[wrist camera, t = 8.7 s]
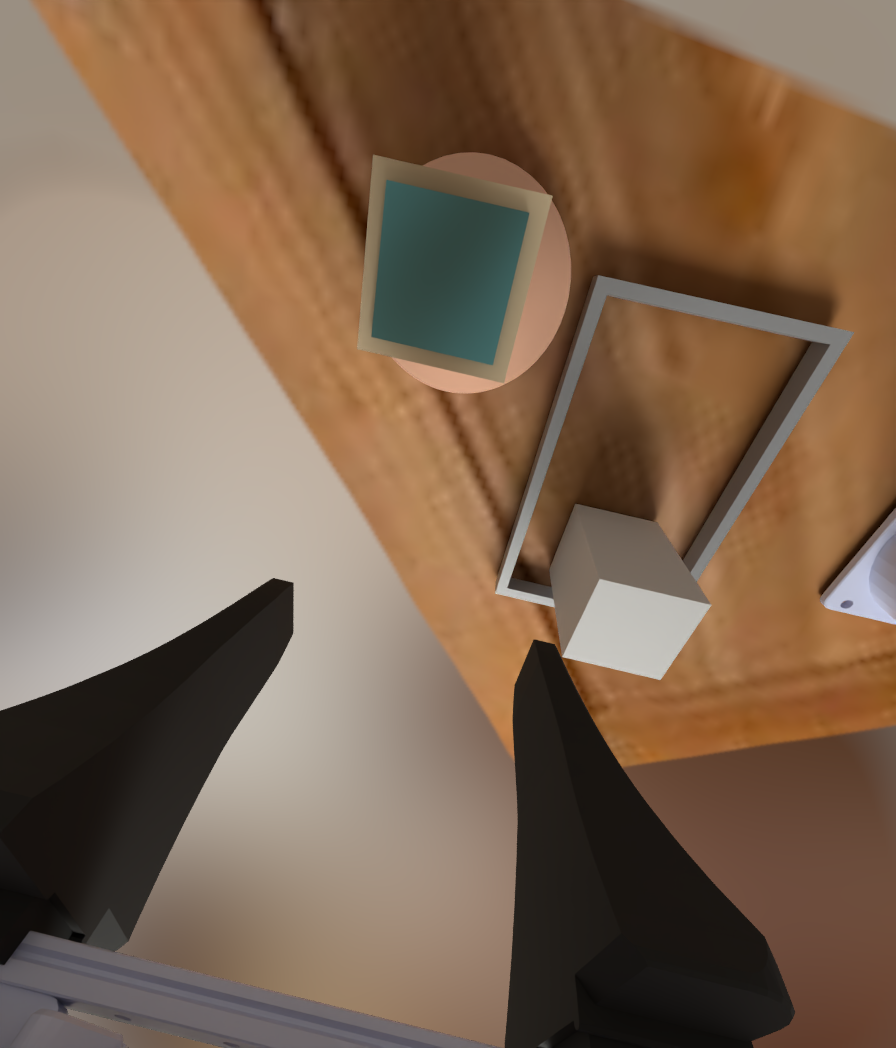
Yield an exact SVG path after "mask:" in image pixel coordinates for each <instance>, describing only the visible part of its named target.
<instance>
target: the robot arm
mask: <svg viewBox="0 0 896 1048" xmlns="http://www.w3.org/2000/svg"><path fill="white" fill-rule="evenodd" d="M844 601H845V602H844ZM820 602H821V603H822V604H823V605H824V606H825V607H826V608H828V609H831V610H835V611H840V612H844V613H848V614H853V615H857V616H861V617H865V618H870V619H874V620H878V621H883V622H887V623H891V624H896V508H895V509H894V510H893V511H892V513H891V514H890V515H889V516H888V517H887V519H886V520H885V521H884V522H883V523H882V524H881V526H880V527H879V528H878V529H877V530H876V532H875V533H874V534H873V535H872V536H871V537H870V539H869V540H868V541H867V542H866V543H865V545H864V546H863V547H862V548H861V549H860V550H859V552H858V553H857V554H856V555H855V556H854V558H853V559H852V560H851V561H850V562H849V564H848V565H847V566H846V567H845V568H844V569H843V571H842V572H841V573H840V574H839V575H838V577H837V578H836V579H835V580H834V581H833V582H832V584H831V585H830V586H829V587H828V588H827V590H826V591H825V592H824V593H823V594H822V596H821V597H820ZM842 602H843V603H842ZM292 635H293V583H292V582H288V581H283V580H279V579H275V578H273V579H271V580H269V581H268V582H266V583H265V584H263V585H261V586H260V587H258V588H257V589H255V590H254V591H252V592H251V593H249V594H248V595H246V596H244V597H243V598H241V599H240V600H238V601H237V602H235V603H234V604H232V605H231V606H229V607H227V608H226V609H224V610H222V611H221V612H219V613H218V614H216V615H214V616H213V617H211V618H209V619H208V620H206V621H204V622H203V623H201V624H199V625H198V626H196V627H194V628H192V629H191V630H189V631H187V632H186V633H183V634H182V635H180V636H178V637H176V638H175V639H173V640H171V641H169V642H167V643H165V644H163V645H161V646H160V647H158V648H156V649H154V650H152V651H150V652H148V653H146V654H143V655H142V656H139V657H137V658H135V659H133V660H131V661H129V662H127V663H124V664H122V665H120V666H118V667H115V668H113V669H110V670H108V671H106V672H103V673H101V674H98V675H96V676H94V677H91V678H89V679H86V680H84V681H82V682H79V683H77V684H74V685H72V686H69V687H67V688H64V689H61V690H59V691H56V692H53V693H50V694H48V695H45V696H42V697H39V698H37V699H34V700H31V701H28V702H25V703H22V704H19V705H16V706H13V707H10V708H7V709H5V710H1V711H0V1048H128V1047H127V1046H126V1045H125V1044H124V1043H123V1035H122V1034H119V1033H117V1032H114V1031H111V1030H108V1029H106V1028H103V1027H100V1026H97V1025H95V1024H92V1023H89V1022H86V1021H84V1020H81V1019H78V1018H75V1017H73V1016H70V1015H68V1011H67V1009H66V1008H68V1009H71V1010H75V1011H79V1012H84V1013H87V1014H91V1015H96V1016H99V1017H103V1018H107V1019H111V1020H115V1021H119V1022H123V1023H127V1024H131V1025H135V1026H139V1027H143V1028H147V1029H151V1030H155V1031H160V1032H164V1033H168V1034H172V1035H175V1036H179V1037H183V1038H187V1039H191V1040H195V1041H200V1042H203V1043H207V1044H212V1045H215V1046H219V1047H223V1048H500V1047H496V1046H492V1045H488V1044H485V1043H480V1042H477V1041H472V1040H468V1039H464V1038H460V1037H456V1036H452V1035H448V1034H444V1033H440V1032H436V1031H432V1030H428V1029H424V1028H420V1027H416V1026H412V1025H408V1024H404V1023H400V1022H396V1021H392V1020H388V1019H384V1018H380V1017H376V1016H372V1015H368V1014H364V1013H360V1012H356V1011H352V1010H348V1009H344V1008H339V1007H335V1006H331V1005H327V1004H324V1003H320V1002H316V1001H311V1000H307V999H303V998H299V997H295V996H291V995H287V994H283V993H279V992H275V991H271V990H267V989H263V988H259V987H255V986H251V985H247V984H243V983H239V982H235V981H231V980H227V979H223V978H219V977H215V976H211V975H207V974H202V973H198V972H194V971H190V970H186V969H183V968H178V967H175V966H171V965H166V964H162V963H159V962H155V961H150V960H146V959H142V958H138V957H134V956H130V955H126V954H122V953H118V952H115V951H116V950H118V949H119V948H120V947H122V946H123V945H124V944H125V943H127V942H128V941H129V939H130V936H131V934H132V932H133V930H134V927H135V925H136V923H137V921H138V918H139V916H140V914H141V912H142V910H143V908H144V905H145V903H146V901H147V899H148V897H149V895H150V893H151V890H152V888H153V886H154V884H155V882H156V880H157V878H158V875H159V873H160V871H161V869H162V867H163V865H164V863H165V861H166V859H167V857H168V855H169V852H170V850H171V849H172V847H173V844H174V842H175V840H176V838H177V836H178V834H179V832H180V830H181V828H182V826H183V824H184V822H185V820H186V818H187V816H188V814H189V812H190V810H191V808H192V807H193V805H194V803H195V801H196V799H197V797H198V794H199V793H200V791H201V789H202V787H203V785H204V783H205V781H206V779H207V778H208V776H209V774H210V772H211V770H212V768H213V767H214V764H215V763H216V761H217V759H218V757H219V755H220V753H221V752H222V750H223V748H224V746H225V745H226V743H227V741H228V740H229V738H230V736H231V735H232V733H233V732H234V730H235V729H236V727H237V726H238V724H239V723H240V721H241V720H242V718H243V717H244V715H245V714H246V712H247V711H248V709H249V707H250V706H251V704H252V703H253V701H254V700H255V698H256V697H257V695H258V694H259V692H260V691H261V689H262V688H263V686H264V685H265V683H266V682H267V680H268V679H269V677H270V676H271V674H272V672H273V671H274V669H275V668H276V666H277V664H278V663H279V661H280V659H281V657H282V655H283V653H284V651H285V649H286V647H287V645H288V643H289V641H290V639H291V637H292ZM513 737H514V755H515V771H516V787H517V808H518V831H517V864H516V887H515V908H514V925H513V943H512V959H511V972H510V986H509V987H510V988H509V1000H508V1013H507V1025H506V1036H505V1048H753V1045H752V1042H751V1041H753V1040H755V1039H758V1038H760V1037H763V1036H765V1035H768V1034H771V1033H773V1032H776V1031H778V1030H780V1029H782V1028H784V1027H785V1026H787V1025H789V1024H790V1022H791V1020H792V1019H793V1016H794V1014H795V1011H794V1008H793V1005H792V1002H791V1000H790V997H789V994H788V992H787V989H786V987H785V984H784V981H783V979H782V976H781V974H780V971H779V968H778V966H777V964H776V962H775V959H774V957H773V955H772V953H771V950H770V948H769V946H768V944H767V941H766V939H765V937H764V936H763V935H762V934H761V933H760V932H759V931H758V929H757V928H755V926H754V925H753V924H752V923H751V922H750V921H749V920H748V919H747V918H746V917H745V916H744V915H743V914H742V913H741V912H740V911H739V910H738V908H736V906H735V905H734V904H733V903H732V902H731V901H730V900H729V899H728V898H727V897H726V896H725V895H724V894H723V893H722V892H721V891H720V890H719V889H718V888H717V887H716V886H715V884H713V882H712V881H711V880H710V879H709V878H708V877H707V876H706V874H705V873H704V872H703V871H702V870H701V868H700V867H699V866H698V865H697V864H696V863H695V862H694V860H693V859H692V858H691V857H690V856H689V855H688V854H687V852H686V851H685V850H684V849H683V848H682V846H681V845H680V844H679V843H678V842H677V840H676V839H675V838H674V837H673V836H672V834H671V833H670V832H669V831H668V829H667V828H666V827H665V825H664V824H663V823H662V822H661V820H660V819H659V818H658V817H657V815H656V814H655V813H654V812H653V810H652V809H651V808H650V807H649V805H648V804H647V803H646V801H645V800H644V799H643V797H642V796H641V794H640V793H639V792H638V790H637V789H636V788H635V786H634V785H633V783H632V782H631V780H630V779H629V777H628V776H627V774H626V773H625V772H624V770H623V769H622V767H621V766H620V764H619V763H618V761H617V759H616V758H615V756H614V755H613V753H612V752H611V750H610V748H609V747H608V745H607V743H606V742H605V740H604V738H603V737H602V735H601V733H600V732H599V730H598V728H597V727H596V725H595V723H594V721H593V719H592V718H591V716H590V714H589V712H588V710H587V708H586V707H585V705H584V703H583V701H582V699H581V697H580V695H579V693H578V691H577V689H576V687H575V685H574V683H573V681H572V679H571V677H570V675H569V673H568V671H567V669H566V667H565V665H564V663H563V660H562V658H561V656H560V654H559V652H558V650H557V648H556V646H555V644H551V643H547V642H543V641H538V640H533V643H532V645H531V647H530V650H529V652H528V655H527V657H526V659H525V662H524V664H523V667H522V669H521V671H520V674H519V676H518V679H517V681H516V683H515V688H514V703H513Z"/></svg>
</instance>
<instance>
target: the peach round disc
mask: <svg viewBox="0 0 896 1048" xmlns="http://www.w3.org/2000/svg"><path fill="white" fill-rule="evenodd" d="M423 166H425V167H430V168H434V169H438V170H443V171H447V172H451V173H456V174H460V175H464V176H469V177H473V178H478V179H482V180H486V181H491V182H495V183H499V184H504V185H508V186H512V187H517V188H521V189H525V190H530V191H534V192H539V193H543V194H547V193H546V191H545V190H544V189H543V187H542V186H541V185H540V184H539V183H538V182H537V181H536V180H535V179H534V178H533V177H532V176H531V175H530V174H528V173H527V172H526V171H524V170H523V169H521V168H520V167H519V166H517V165H515V164H513V163H511V162H509V161H507V160H505V159H503V158H500V157H497V156H493V155H490V154H484V153H476V152H467V153H456V154H451V155H446V156H443V157H440V158H438V159H435V160H433V161H430V162H428V163H426V164H425V165H423ZM547 195H548V194H547ZM570 283H571V257H570V248H569V243H568V239H567V235H566V230H565V228H564V225H563V222H562V220H561V217H560V214H559V212H558V211H557V209H556V207H555V205H554V203H553V201H551V204H550V208H549V212H548V216H547V220H546V224H545V227H544V231H543V235H542V239H541V243H540V247H539V251H538V254H537V258H536V262H535V266H534V270H533V274H532V278H531V281H530V285H529V289H528V293H527V297H526V301H525V304H524V308H523V312H522V316H521V320H520V324H519V328H518V331H517V335H516V339H515V343H514V347H513V351H512V354H511V358H510V362H509V366H508V370H507V374H506V378H505V381H504V383H500V382H496V381H492V380H487V379H483V378H479V377H475V376H470V375H466V374H462V373H458V372H453V371H449V370H445V369H441V368H436V367H432V366H428V365H423V364H419V363H415V362H411V361H406V360H402V359H398V358H394V357H392V358H393V359H394V360H395V361H396V362H397V363H398V364H399V365H400V367H401V368H402V369H404V370H405V371H406V372H407V373H409V374H410V375H411V376H412V377H414V378H416V379H417V380H419V381H421V382H422V383H424V384H426V385H429V386H431V387H433V388H436V389H439V390H443V391H447V392H453V393H477V392H483V391H487V390H491V389H494V388H497V387H500V386H502V385H505V384H506V383H508V382H510V381H512V380H514V379H515V378H517V377H518V376H520V375H521V374H522V373H524V372H525V371H526V370H528V369H529V368H530V367H531V366H532V365H533V364H534V363H535V362H536V361H537V360H538V359H539V357H540V356H541V355H542V354H543V353H544V351H545V350H546V349H547V347H548V346H549V344H550V343H551V341H552V340H553V338H554V336H555V334H556V332H557V330H558V328H559V326H560V324H561V321H562V318H563V315H564V313H565V310H566V306H567V301H568V297H569V291H570Z"/></svg>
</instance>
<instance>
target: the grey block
mask: <svg viewBox="0 0 896 1048" xmlns="http://www.w3.org/2000/svg"><path fill="white" fill-rule="evenodd" d="M549 572H550V579H551V585H552V592H553V598H554V605H555V612H556V618H557V625H558V632H559V638H560V645H561V651H562V657H565V658H570V659H574V660H578V661H582V662H586V663H591V664H595V665H599V666H603V667H608V668H612V669H616V670H620V671H625V672H629V673H633V674H637V675H642V676H646V677H650V678H654V679H659V680H661V678H662V677H663V675H664V674H665V672H666V671H667V669H668V668H669V666H670V665H671V664H672V662H673V661H674V659H675V658H676V656H677V655H678V653H679V652H680V650H681V649H682V647H683V646H684V644H685V643H686V642H687V640H688V639H689V637H690V636H691V634H692V633H693V631H694V630H695V628H696V627H697V625H698V624H699V622H700V621H701V619H702V618H703V617H704V615H705V614H706V612H707V611H708V609H709V608H710V606H711V604H710V602H709V601H708V599H707V598H706V596H705V595H704V593H703V592H702V590H701V588H700V587H699V585H698V584H697V582H696V581H695V579H694V578H693V576H692V575H691V573H690V572H689V570H688V569H687V567H686V565H685V564H684V562H683V561H682V559H681V558H680V556H679V555H678V553H677V552H676V550H675V549H674V547H673V546H672V544H671V542H670V541H669V539H668V538H667V536H666V535H665V533H664V532H663V530H662V529H661V527H660V526H659V524H658V523H657V522H653V521H649V520H644V519H640V518H636V517H631V516H627V515H623V514H618V513H614V512H610V511H605V510H601V509H597V508H592V507H588V506H584V505H579V504H575V506H574V508H573V511H572V513H571V516H570V518H569V521H568V523H567V526H566V528H565V531H564V533H563V536H562V539H561V541H560V544H559V546H558V549H557V551H556V554H555V556H554V559H553V561H552V564H551V566H550V569H549Z"/></svg>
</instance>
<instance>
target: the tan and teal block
mask: <svg viewBox="0 0 896 1048" xmlns="http://www.w3.org/2000/svg"><path fill="white" fill-rule="evenodd" d="M552 197H553V196H552V195H547V194H543V193H539V192H534V191H530V190H525V189H521V188H517V187H512V186H508V185H504V184H499V183H495V182H491V181H486V180H482V179H478V178H473V177H469V176H464V175H460V174H456V173H451V172H447V171H443V170H438V169H434V168H430V167H425V166H421V165H416V164H412V163H408V162H403V161H399V160H395V159H390V158H386V157H382V156H377V155H373V161H372V174H371V186H370V198H369V210H368V223H367V235H366V247H365V260H364V272H363V284H362V296H361V309H360V321H359V333H358V345H357V349H359V350H364V351H368V352H372V353H376V354H381V355H385V356H389V357H394V358H398V359H402V360H406V361H411V362H415V363H419V364H423V365H428V366H432V367H436V368H441V369H445V370H449V371H453V372H458V373H462V374H466V375H470V376H475V377H479V378H483V379H487V380H492V381H496V382H500V383H504V381H505V378H506V374H507V370H508V366H509V362H510V358H511V354H512V351H513V347H514V343H515V339H516V335H517V331H518V328H519V324H520V320H521V316H522V312H523V308H524V304H525V301H526V297H527V293H528V289H529V285H530V281H531V278H532V274H533V270H534V266H535V262H536V258H537V254H538V251H539V247H540V243H541V239H542V235H543V231H544V227H545V224H546V220H547V216H548V212H549V208H550V204H551V201H552Z"/></svg>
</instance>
